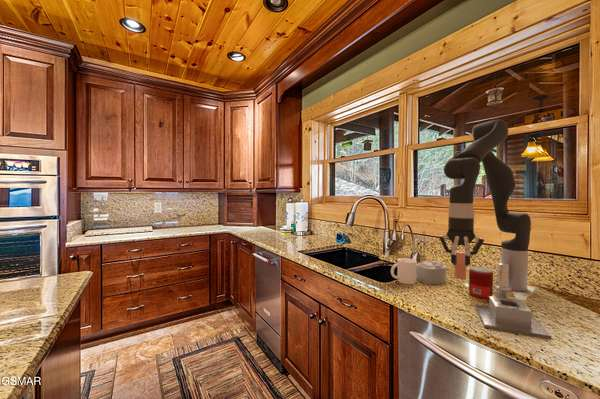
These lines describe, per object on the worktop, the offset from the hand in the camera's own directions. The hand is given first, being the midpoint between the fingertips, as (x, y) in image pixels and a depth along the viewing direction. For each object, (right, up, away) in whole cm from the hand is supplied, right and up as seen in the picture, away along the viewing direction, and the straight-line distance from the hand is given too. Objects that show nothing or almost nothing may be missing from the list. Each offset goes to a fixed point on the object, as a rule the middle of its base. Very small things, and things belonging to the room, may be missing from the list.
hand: (460, 265), depth 92 cm
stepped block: (0, -4, 0) cm, 4 cm away
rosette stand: (+13, -17, -4) cm, 22 cm away
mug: (-7, -16, +33) cm, 37 cm away
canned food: (+18, -17, +16) cm, 30 cm away
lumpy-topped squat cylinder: (+8, -16, +35) cm, 39 cm away
